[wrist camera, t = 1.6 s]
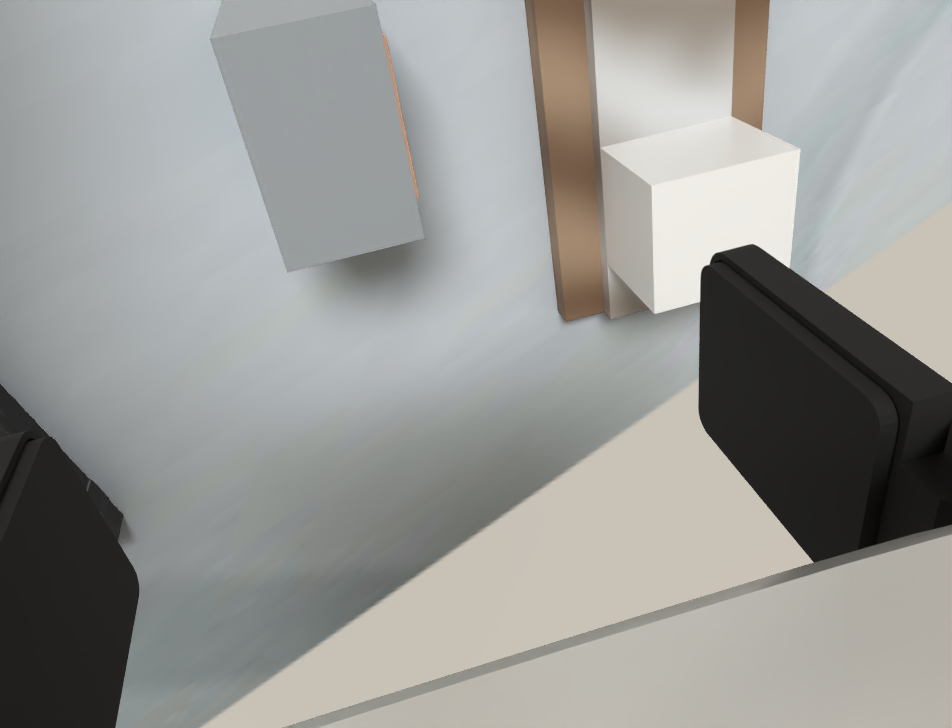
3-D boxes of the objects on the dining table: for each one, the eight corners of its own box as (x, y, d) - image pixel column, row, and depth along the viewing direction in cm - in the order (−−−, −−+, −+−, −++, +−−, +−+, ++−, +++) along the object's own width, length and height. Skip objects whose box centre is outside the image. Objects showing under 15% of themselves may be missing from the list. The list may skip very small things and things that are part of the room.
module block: (223, -2, 27) (209, 38, 20) (349, -27, 28) (382, 2, 20) (280, 182, 31) (287, 272, 24) (390, 156, 32) (430, 236, 24)
